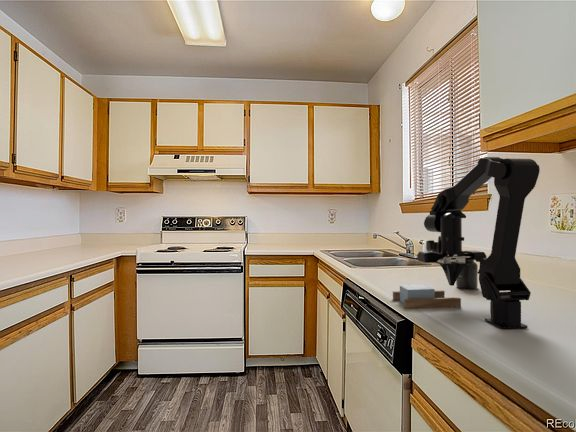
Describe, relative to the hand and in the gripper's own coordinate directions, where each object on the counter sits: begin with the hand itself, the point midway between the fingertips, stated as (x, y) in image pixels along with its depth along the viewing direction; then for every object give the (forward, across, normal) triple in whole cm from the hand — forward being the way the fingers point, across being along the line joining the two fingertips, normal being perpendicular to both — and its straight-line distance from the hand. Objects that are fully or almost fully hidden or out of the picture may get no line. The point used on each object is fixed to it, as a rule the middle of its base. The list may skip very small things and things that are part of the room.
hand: (451, 285), depth 104 cm
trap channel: (+5, +8, 0) cm, 10 cm away
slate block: (+5, +11, 0) cm, 12 cm away
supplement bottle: (+5, -16, -19) cm, 25 cm away
